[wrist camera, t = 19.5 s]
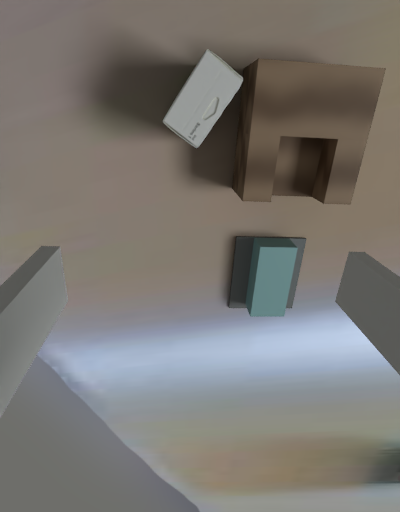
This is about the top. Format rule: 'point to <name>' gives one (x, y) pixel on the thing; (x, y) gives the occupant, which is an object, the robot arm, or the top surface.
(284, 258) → the slab
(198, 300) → the top surface
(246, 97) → the block
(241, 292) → the mat
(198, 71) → the ink box
